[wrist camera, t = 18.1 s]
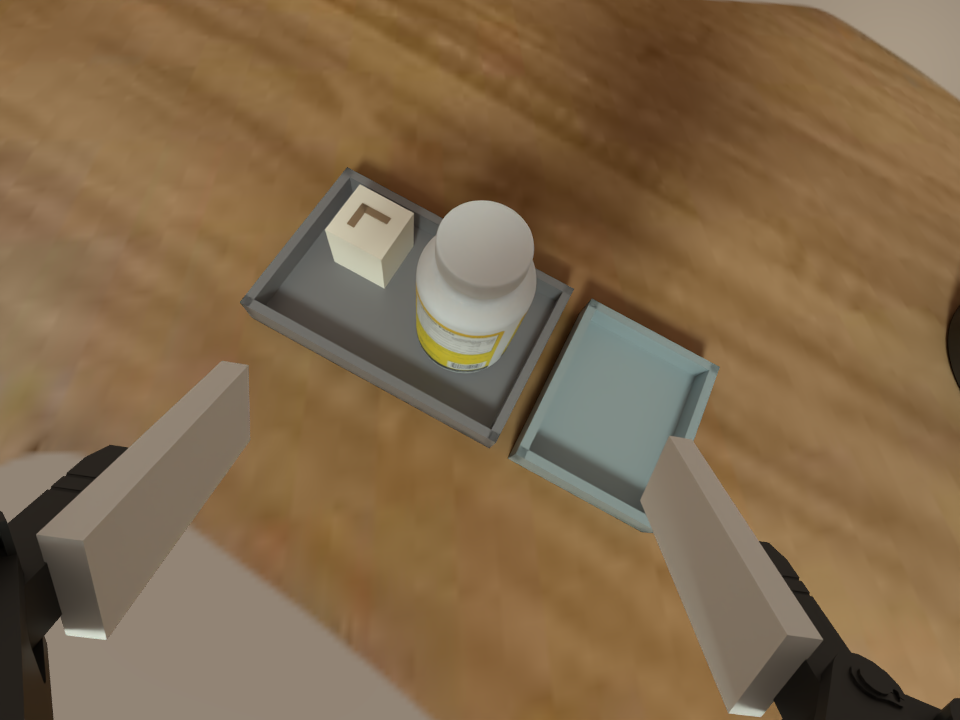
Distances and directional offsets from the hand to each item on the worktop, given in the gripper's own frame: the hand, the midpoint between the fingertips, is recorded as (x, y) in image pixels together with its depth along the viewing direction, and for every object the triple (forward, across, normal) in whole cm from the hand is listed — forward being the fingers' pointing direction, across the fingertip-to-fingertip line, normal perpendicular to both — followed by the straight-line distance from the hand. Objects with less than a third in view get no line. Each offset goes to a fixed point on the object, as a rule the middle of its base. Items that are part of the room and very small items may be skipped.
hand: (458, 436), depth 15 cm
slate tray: (+16, +11, -8) cm, 21 cm away
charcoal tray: (+20, -3, -4) cm, 20 cm away
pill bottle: (+18, 0, -4) cm, 19 cm away
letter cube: (+22, -7, -1) cm, 23 cm away
